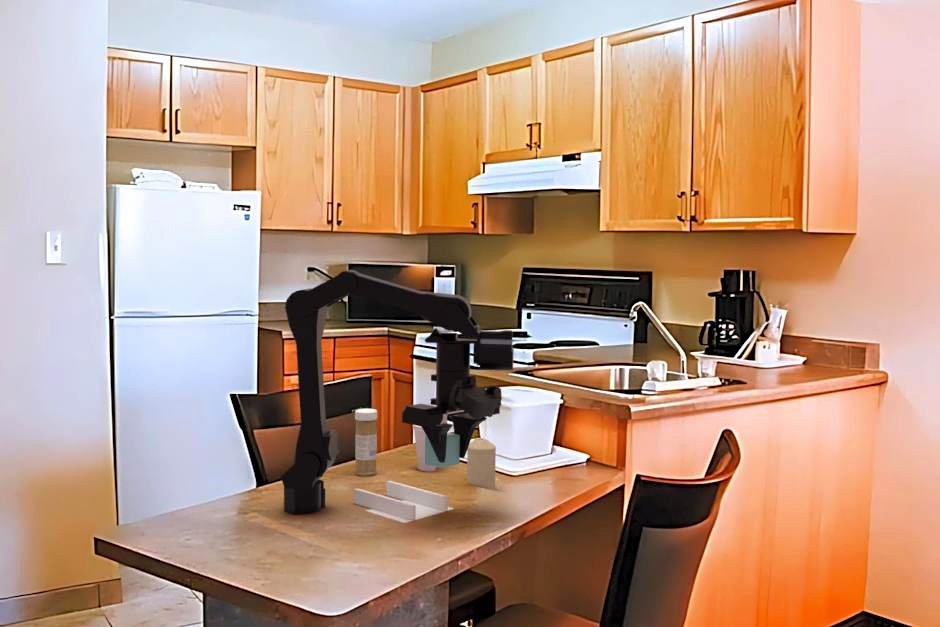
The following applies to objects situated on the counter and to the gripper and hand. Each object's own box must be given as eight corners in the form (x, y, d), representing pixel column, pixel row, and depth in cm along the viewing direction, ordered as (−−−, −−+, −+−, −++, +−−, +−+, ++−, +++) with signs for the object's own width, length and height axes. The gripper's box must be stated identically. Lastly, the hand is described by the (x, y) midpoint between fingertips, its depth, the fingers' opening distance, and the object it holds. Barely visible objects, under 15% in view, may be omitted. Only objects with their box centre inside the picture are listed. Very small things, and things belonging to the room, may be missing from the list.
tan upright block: (499, 491, 178) (500, 441, 177) (473, 494, 176) (473, 442, 175) (488, 484, 183) (489, 435, 182) (462, 487, 181) (463, 437, 180)
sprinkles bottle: (369, 470, 193) (369, 407, 192) (381, 474, 190) (381, 410, 189) (350, 473, 190) (350, 409, 190) (362, 477, 187) (362, 412, 186)
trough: (404, 531, 152) (404, 508, 152) (346, 513, 162) (346, 490, 162) (454, 516, 161) (454, 494, 160) (396, 500, 171) (396, 478, 170)
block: (424, 464, 157) (442, 468, 155) (425, 435, 157) (442, 439, 154) (441, 459, 161) (459, 463, 158) (442, 431, 160) (459, 435, 158)
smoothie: (408, 466, 197) (409, 402, 196) (437, 464, 199) (438, 401, 198) (416, 473, 191) (416, 407, 190) (445, 471, 193) (446, 406, 192)
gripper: (449, 379, 143) (447, 478, 144) (524, 369, 157) (522, 459, 158) (400, 372, 150) (399, 465, 152) (476, 363, 164) (475, 448, 165)
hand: (451, 460), depth 156 cm, fingers closed on block, 4 cm apart
